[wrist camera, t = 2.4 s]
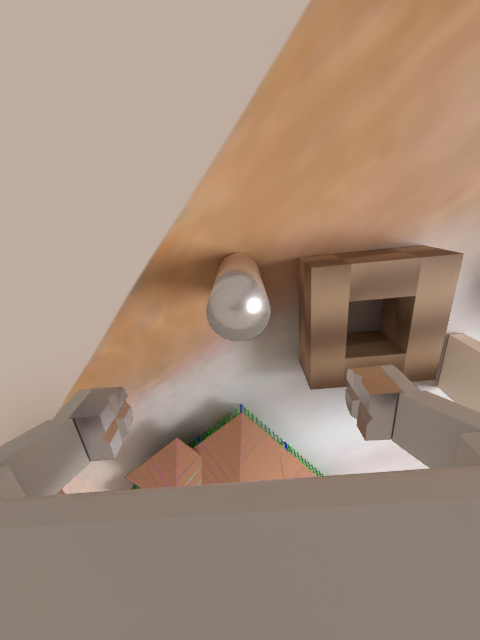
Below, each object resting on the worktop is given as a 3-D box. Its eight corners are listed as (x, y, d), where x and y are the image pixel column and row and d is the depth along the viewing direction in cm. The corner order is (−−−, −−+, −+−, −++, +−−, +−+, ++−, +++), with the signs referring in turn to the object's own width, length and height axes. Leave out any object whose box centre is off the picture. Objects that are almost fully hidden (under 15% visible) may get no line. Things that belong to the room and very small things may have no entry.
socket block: (298, 257, 26) (311, 267, 22) (423, 245, 26) (463, 253, 21) (299, 362, 31) (310, 389, 26) (405, 353, 30) (435, 379, 26)
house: (226, 380, 32) (222, 432, 25) (373, 509, 42) (403, 576, 34) (111, 471, 38) (80, 536, 31) (263, 566, 48) (267, 633, 40)
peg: (216, 254, 26) (201, 284, 16) (257, 250, 26) (268, 278, 16) (221, 293, 28) (210, 343, 18) (259, 290, 28) (272, 338, 17)
